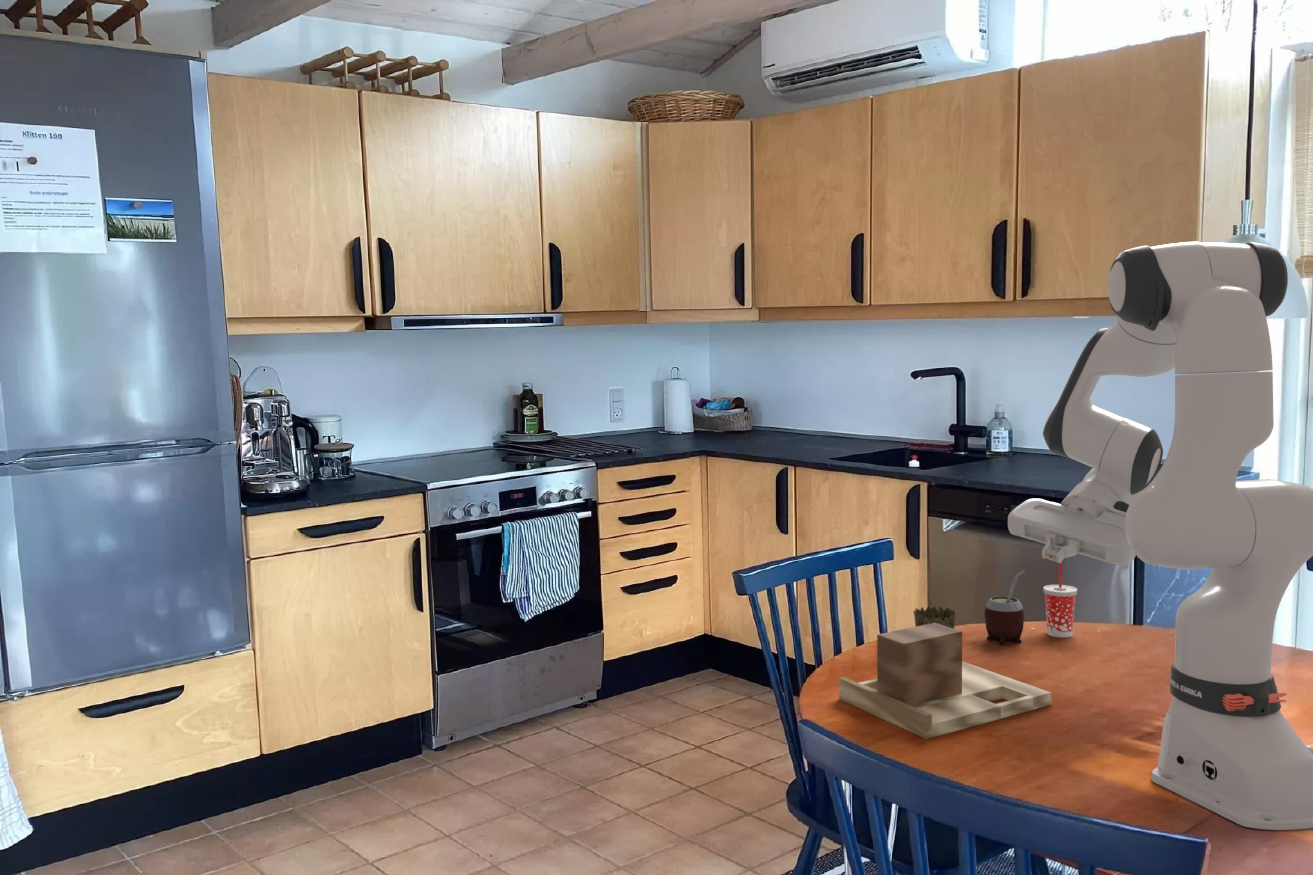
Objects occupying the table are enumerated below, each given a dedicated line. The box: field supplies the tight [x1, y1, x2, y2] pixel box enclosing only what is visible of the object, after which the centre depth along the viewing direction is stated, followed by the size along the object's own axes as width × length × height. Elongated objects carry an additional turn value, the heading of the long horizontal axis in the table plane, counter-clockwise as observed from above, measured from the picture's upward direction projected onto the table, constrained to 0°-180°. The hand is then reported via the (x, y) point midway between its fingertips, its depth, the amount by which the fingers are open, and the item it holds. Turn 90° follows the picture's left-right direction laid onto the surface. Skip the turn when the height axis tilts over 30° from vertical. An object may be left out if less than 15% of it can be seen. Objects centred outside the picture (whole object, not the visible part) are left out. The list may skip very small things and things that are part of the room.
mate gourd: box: [984, 568, 1027, 646], centre depth 200 cm, size 8×8×15 cm
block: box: [876, 623, 963, 706], centre depth 167 cm, size 12×6×10 cm, turn 119°
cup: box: [913, 605, 957, 629], centre depth 194 cm, size 8×7×8 cm
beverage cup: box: [1043, 562, 1078, 639], centre depth 204 cm, size 6×6×14 cm
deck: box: [838, 660, 1052, 740], centre depth 169 cm, size 26×20×4 cm
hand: (1050, 557), depth 168 cm, fingers closed
